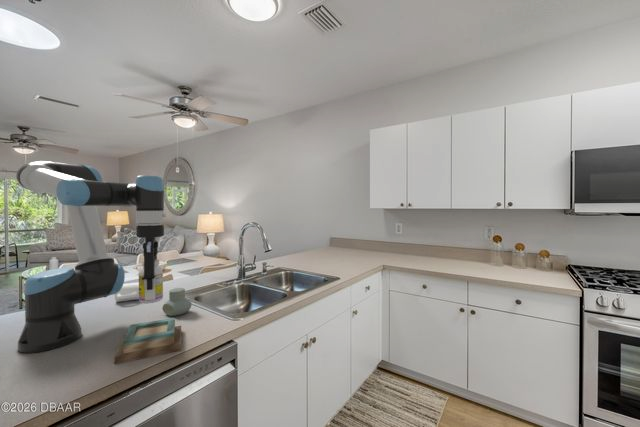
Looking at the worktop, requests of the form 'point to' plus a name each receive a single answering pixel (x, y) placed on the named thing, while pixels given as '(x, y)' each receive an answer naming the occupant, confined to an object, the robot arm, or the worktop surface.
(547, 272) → the worktop surface
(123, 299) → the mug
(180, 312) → the green pipe tee
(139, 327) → the display stand
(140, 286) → the supplement bottle
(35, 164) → the robot arm
